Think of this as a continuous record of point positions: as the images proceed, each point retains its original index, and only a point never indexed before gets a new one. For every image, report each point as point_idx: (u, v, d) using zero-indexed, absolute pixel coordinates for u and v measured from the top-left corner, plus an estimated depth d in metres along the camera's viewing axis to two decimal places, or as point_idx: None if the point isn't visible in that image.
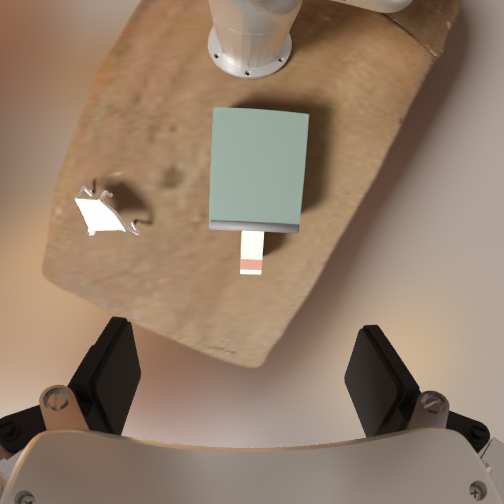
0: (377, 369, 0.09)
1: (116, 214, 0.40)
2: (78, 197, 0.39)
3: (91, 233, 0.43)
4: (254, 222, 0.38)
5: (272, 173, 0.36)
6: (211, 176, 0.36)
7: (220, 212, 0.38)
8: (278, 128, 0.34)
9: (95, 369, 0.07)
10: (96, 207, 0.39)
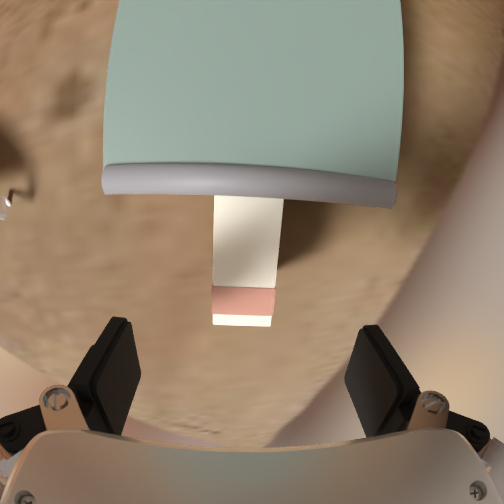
0: (377, 369, 0.09)
1: None
2: None
3: None
4: (252, 165, 0.10)
5: (311, 14, 0.08)
6: (116, 31, 0.08)
7: (136, 135, 0.10)
8: None
9: (95, 369, 0.07)
10: None
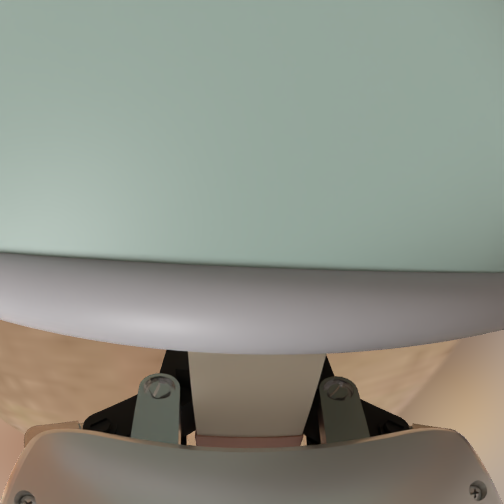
0: None
1: None
2: None
3: None
4: (280, 272, 0.04)
5: None
6: None
7: None
8: None
9: None
10: None
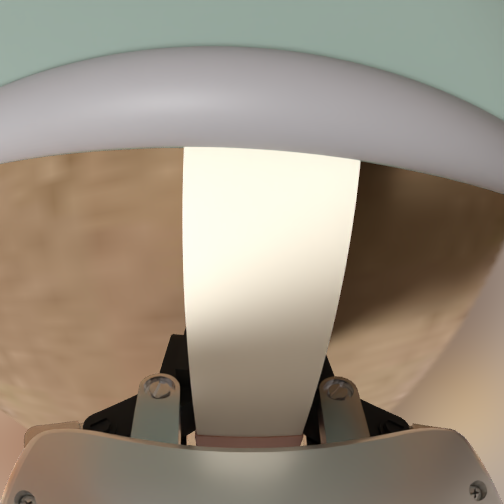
0: None
1: None
2: None
3: None
4: (297, 51, 0.03)
5: None
6: None
7: (5, 31, 0.02)
8: None
9: None
10: None
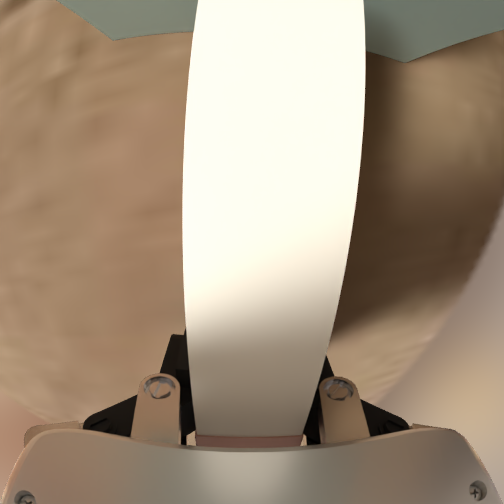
0: None
1: None
2: None
3: None
4: None
5: None
6: None
7: None
8: None
9: None
10: None
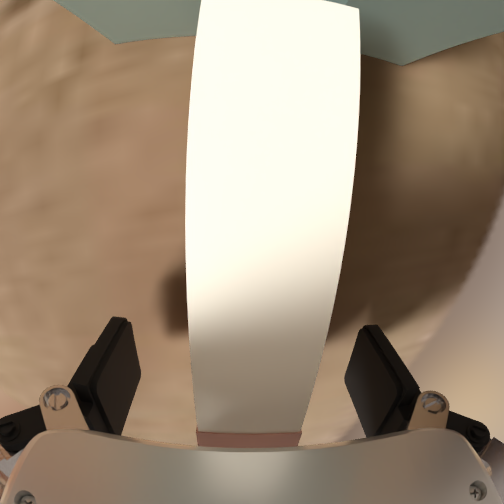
0: (377, 369, 0.09)
1: None
2: None
3: None
4: None
5: None
6: None
7: None
8: None
9: (95, 369, 0.07)
10: None
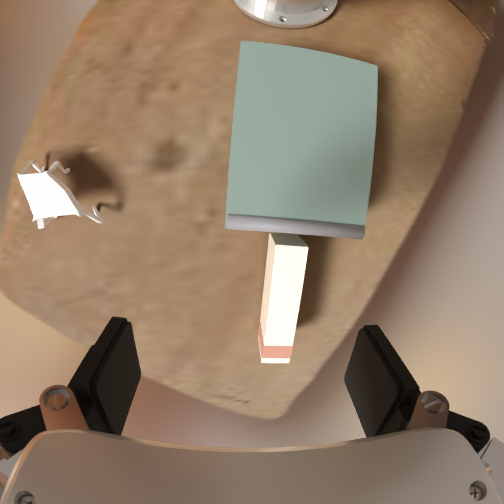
0: (377, 369, 0.09)
1: (68, 191, 0.25)
2: (22, 173, 0.24)
3: (40, 225, 0.27)
4: (299, 219, 0.24)
5: (329, 143, 0.22)
6: (233, 141, 0.22)
7: (245, 201, 0.23)
8: (337, 78, 0.20)
9: (95, 369, 0.07)
10: (42, 183, 0.24)
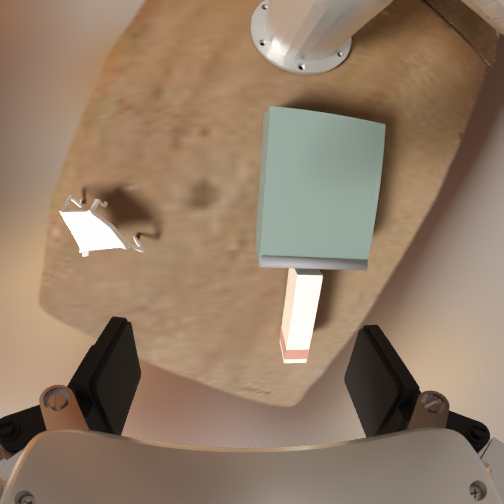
0: (377, 369, 0.09)
1: (113, 228, 0.31)
2: (64, 210, 0.30)
3: (84, 254, 0.34)
4: (316, 258, 0.30)
5: (342, 197, 0.28)
6: (265, 198, 0.28)
7: (275, 245, 0.30)
8: (351, 139, 0.26)
9: (95, 369, 0.07)
10: (86, 221, 0.30)
